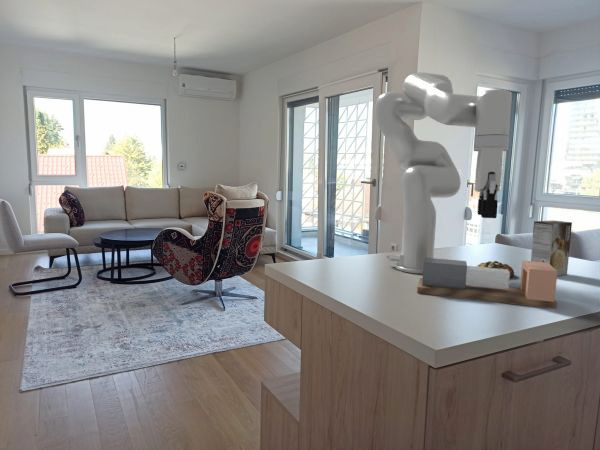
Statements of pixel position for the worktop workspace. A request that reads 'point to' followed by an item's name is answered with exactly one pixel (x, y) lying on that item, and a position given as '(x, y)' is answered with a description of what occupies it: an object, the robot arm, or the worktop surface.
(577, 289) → the worktop surface
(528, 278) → the socket block
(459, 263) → the sleeve
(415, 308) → the worktop surface
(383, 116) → the robot arm
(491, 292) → the base board
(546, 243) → the coffee box
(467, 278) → the light grey bar
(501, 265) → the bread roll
